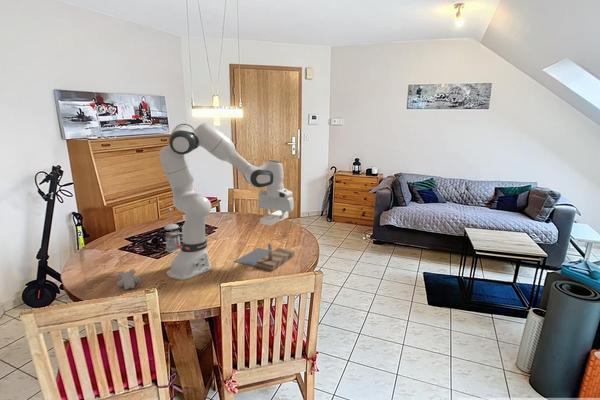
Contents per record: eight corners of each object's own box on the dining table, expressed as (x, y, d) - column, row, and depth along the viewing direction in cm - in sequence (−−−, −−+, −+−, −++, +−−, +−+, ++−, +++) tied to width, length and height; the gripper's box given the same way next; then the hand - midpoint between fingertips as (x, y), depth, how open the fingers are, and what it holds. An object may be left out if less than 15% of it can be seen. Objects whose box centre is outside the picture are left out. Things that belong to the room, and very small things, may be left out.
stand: (273, 270, 172) (272, 248, 169) (256, 267, 176) (255, 245, 173) (294, 255, 191) (294, 235, 188) (279, 252, 195) (278, 232, 192)
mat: (254, 266, 177) (254, 265, 177) (234, 261, 183) (234, 261, 183) (276, 252, 196) (276, 251, 196) (258, 248, 202) (258, 247, 202)
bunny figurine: (117, 285, 149) (114, 269, 161) (118, 295, 151) (116, 278, 163) (141, 280, 154) (136, 264, 166) (142, 289, 155) (137, 274, 167)
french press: (174, 245, 208) (171, 205, 202) (188, 248, 202) (184, 207, 196) (161, 250, 199) (156, 208, 194) (174, 254, 194) (170, 211, 188)
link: (270, 225, 169) (270, 219, 168) (260, 224, 172) (260, 218, 171) (288, 216, 185) (288, 211, 184) (278, 215, 187) (278, 210, 187)
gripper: (255, 191, 178) (255, 216, 181) (289, 195, 168) (289, 221, 172) (262, 189, 183) (262, 213, 186) (295, 192, 174) (295, 218, 177)
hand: (275, 217), depth 179 cm, fingers closed on link, 6 cm apart
